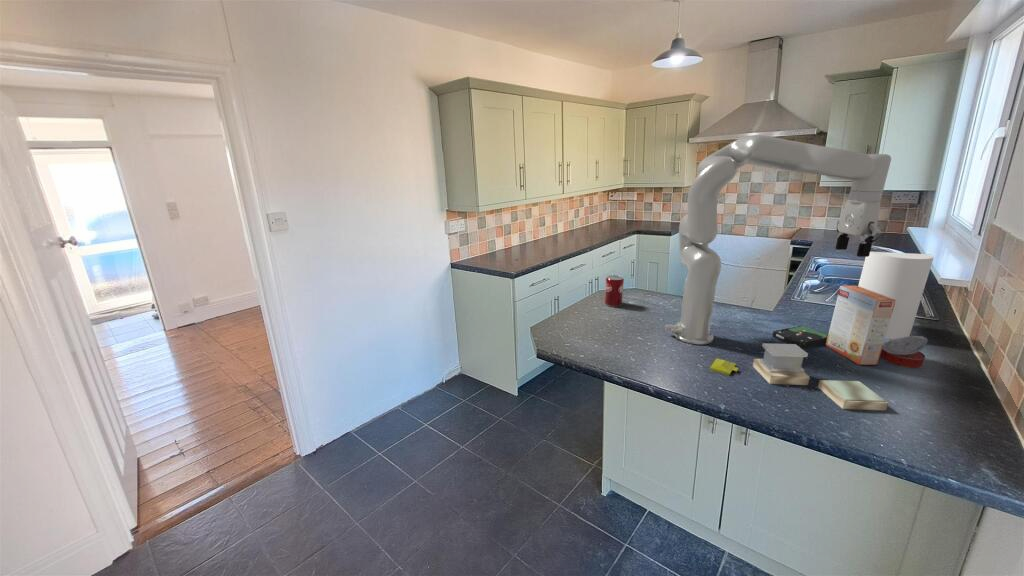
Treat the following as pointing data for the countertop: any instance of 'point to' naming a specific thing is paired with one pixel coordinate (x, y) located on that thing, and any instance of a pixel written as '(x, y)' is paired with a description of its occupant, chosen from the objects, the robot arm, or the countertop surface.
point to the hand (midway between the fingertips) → (851, 252)
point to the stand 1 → (781, 376)
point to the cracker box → (860, 324)
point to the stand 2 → (852, 395)
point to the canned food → (904, 351)
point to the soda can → (614, 291)
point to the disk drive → (801, 336)
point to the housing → (783, 358)
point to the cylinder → (897, 285)
